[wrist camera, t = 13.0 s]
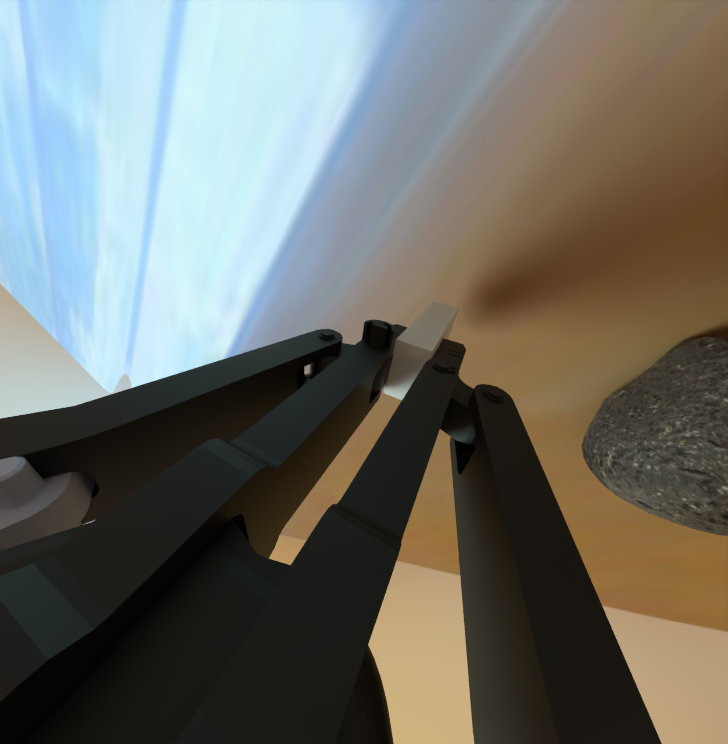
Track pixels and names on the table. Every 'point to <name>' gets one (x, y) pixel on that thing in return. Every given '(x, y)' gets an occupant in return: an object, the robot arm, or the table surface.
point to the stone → (669, 437)
